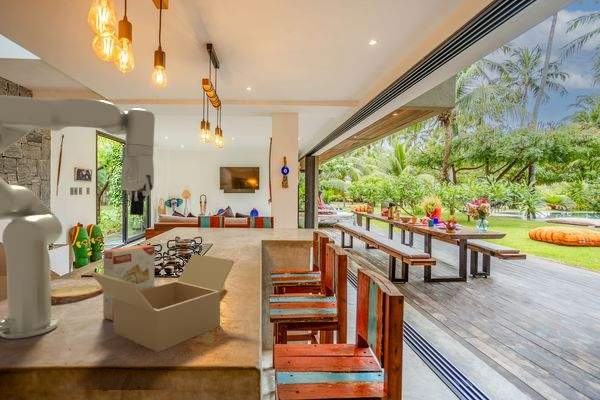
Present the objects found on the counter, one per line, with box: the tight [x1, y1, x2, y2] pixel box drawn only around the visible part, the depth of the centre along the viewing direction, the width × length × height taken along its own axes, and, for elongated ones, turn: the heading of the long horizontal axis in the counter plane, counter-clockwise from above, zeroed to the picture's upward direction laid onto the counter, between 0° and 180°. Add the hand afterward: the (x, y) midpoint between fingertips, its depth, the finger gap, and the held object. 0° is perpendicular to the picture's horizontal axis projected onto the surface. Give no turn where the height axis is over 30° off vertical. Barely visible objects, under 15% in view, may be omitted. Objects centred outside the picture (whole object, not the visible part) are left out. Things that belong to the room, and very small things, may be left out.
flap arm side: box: [89, 271, 156, 312], centre depth 86 cm, size 10×19×1 cm
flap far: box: [177, 253, 235, 291], centre depth 108 cm, size 10×19×1 cm
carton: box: [113, 280, 221, 353], centre depth 97 cm, size 20×20×10 cm
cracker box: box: [102, 244, 156, 322], centre depth 110 cm, size 14×6×21 cm, turn 148°
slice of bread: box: [51, 284, 103, 306], centre depth 126 cm, size 18×18×4 cm
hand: (136, 214), depth 103 cm, fingers closed
